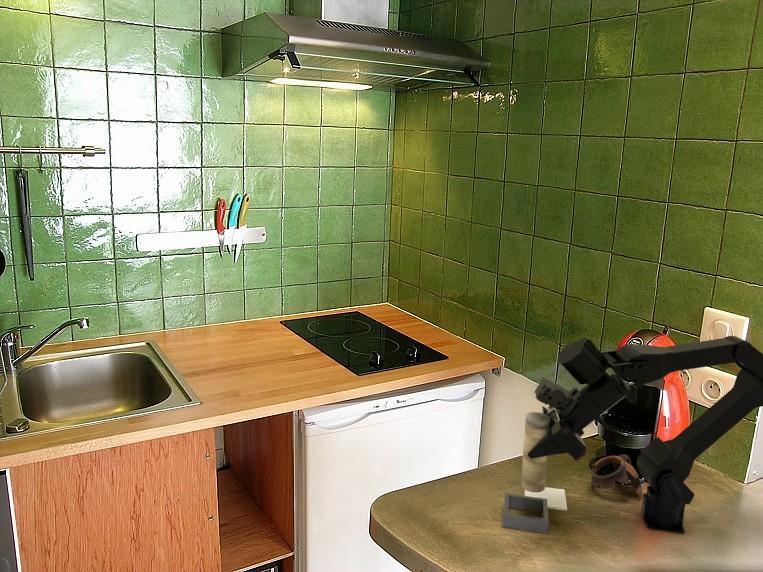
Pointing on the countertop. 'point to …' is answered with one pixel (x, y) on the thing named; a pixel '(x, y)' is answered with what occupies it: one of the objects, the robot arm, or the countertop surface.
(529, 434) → the beige cylinder grey cap
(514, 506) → the metal holder
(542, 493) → the off-white pad
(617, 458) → the pottery mug
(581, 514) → the countertop surface
